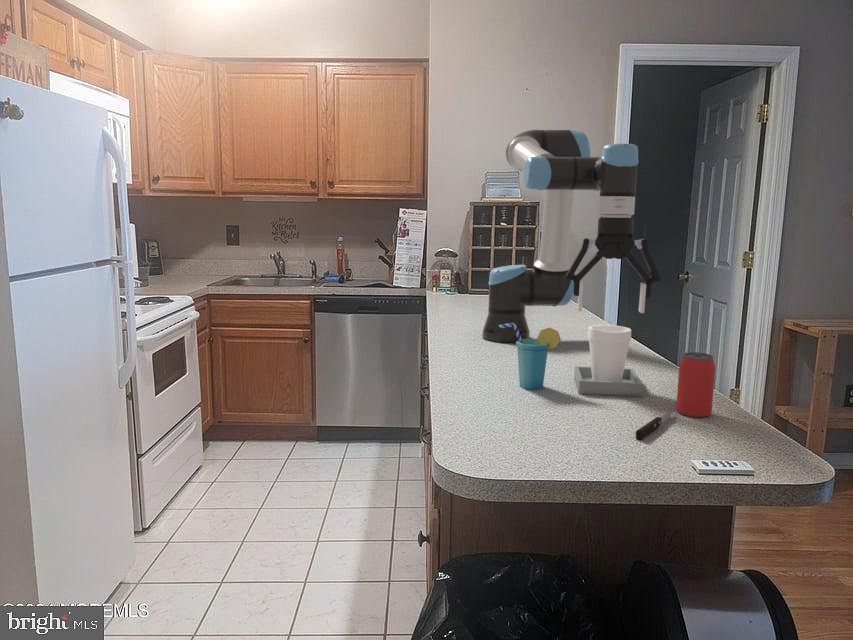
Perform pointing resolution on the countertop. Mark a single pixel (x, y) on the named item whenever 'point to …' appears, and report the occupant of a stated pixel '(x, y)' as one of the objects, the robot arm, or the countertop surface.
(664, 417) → the kitchen knife
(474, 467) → the countertop surface
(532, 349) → the cup
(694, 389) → the beer can
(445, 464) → the countertop surface
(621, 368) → the foam cup
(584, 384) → the tray
